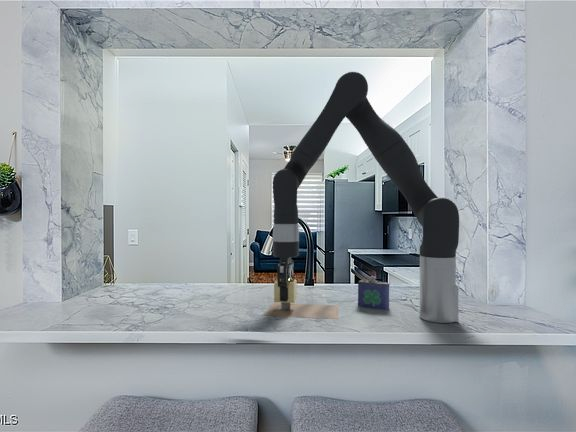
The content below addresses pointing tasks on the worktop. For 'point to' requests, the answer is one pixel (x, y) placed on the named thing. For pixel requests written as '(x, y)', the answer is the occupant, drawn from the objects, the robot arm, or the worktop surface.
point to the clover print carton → (373, 294)
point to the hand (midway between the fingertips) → (285, 298)
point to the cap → (291, 291)
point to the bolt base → (303, 310)
